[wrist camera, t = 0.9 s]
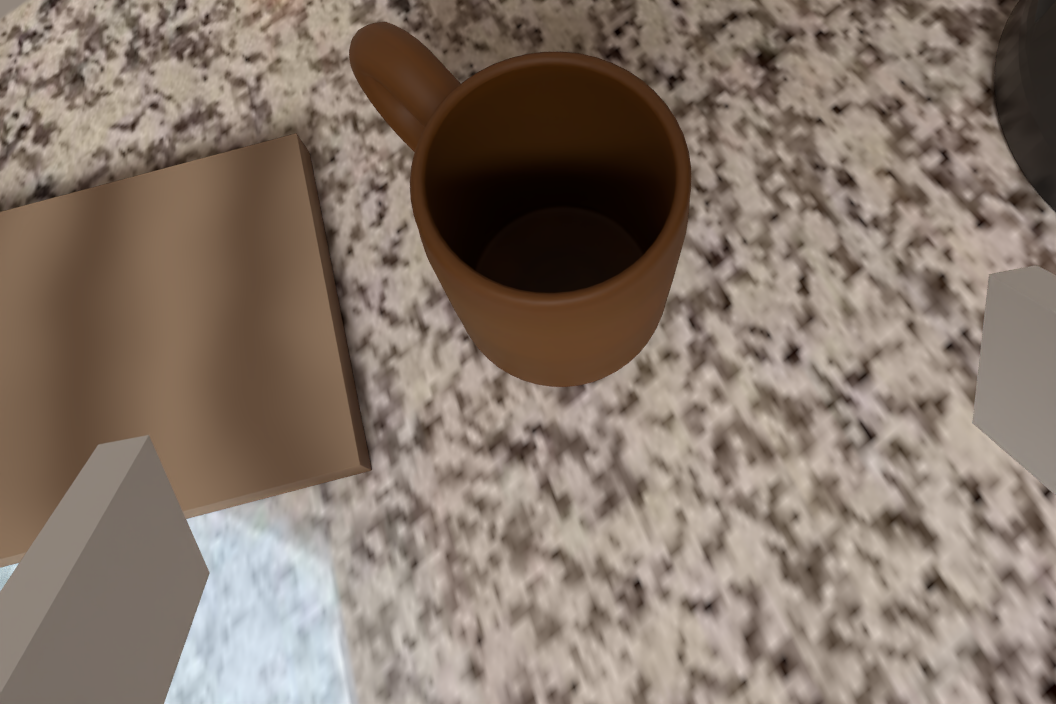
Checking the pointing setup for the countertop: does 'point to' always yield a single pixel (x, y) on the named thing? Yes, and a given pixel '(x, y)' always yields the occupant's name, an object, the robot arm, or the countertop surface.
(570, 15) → the countertop surface
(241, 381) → the shelf
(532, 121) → the mug
